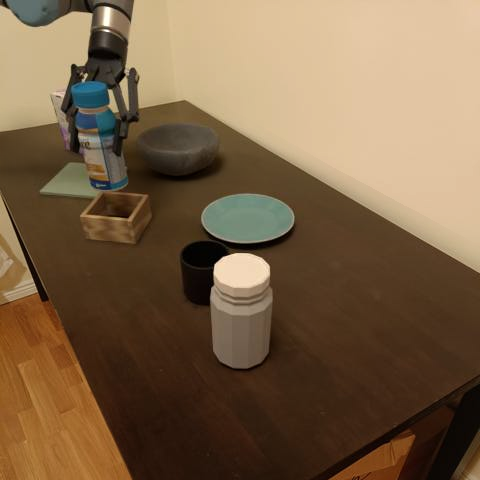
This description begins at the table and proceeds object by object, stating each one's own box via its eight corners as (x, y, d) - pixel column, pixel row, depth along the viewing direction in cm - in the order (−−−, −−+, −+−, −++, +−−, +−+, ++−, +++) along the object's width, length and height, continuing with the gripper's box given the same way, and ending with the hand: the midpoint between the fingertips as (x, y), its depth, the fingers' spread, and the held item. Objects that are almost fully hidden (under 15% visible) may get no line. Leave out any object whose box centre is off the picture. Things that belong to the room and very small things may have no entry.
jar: (223, 326, 79) (220, 244, 66) (274, 337, 77) (282, 255, 64) (205, 365, 72) (198, 283, 60) (260, 378, 70) (266, 296, 58)
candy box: (110, 152, 133) (98, 95, 121) (96, 159, 129) (82, 101, 118) (79, 143, 138) (64, 87, 127) (64, 149, 135) (48, 92, 123)
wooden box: (86, 239, 99) (79, 216, 95) (106, 212, 108) (100, 190, 103) (135, 244, 98) (131, 221, 94) (152, 216, 106) (148, 194, 102)
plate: (186, 241, 99) (185, 230, 97) (222, 196, 114) (221, 186, 112) (278, 261, 93) (279, 250, 91) (303, 212, 108) (304, 201, 106)
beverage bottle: (131, 191, 93) (113, 91, 79) (91, 196, 91) (65, 94, 77) (127, 173, 99) (109, 77, 85) (89, 178, 97) (65, 81, 83)
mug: (218, 264, 92) (216, 228, 86) (237, 299, 84) (237, 262, 78) (175, 274, 90) (170, 237, 84) (191, 310, 82) (187, 273, 76)
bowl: (208, 148, 135) (206, 115, 128) (229, 180, 120) (229, 144, 113) (135, 158, 130) (129, 124, 123) (147, 192, 115) (142, 156, 108)
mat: (40, 194, 114) (39, 191, 114) (70, 164, 127) (69, 162, 126) (104, 199, 112) (103, 197, 112) (128, 169, 125) (127, 166, 124)
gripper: (164, 55, 89) (151, 163, 89) (69, 50, 91) (56, 155, 91) (153, 31, 82) (139, 148, 82) (50, 25, 84) (35, 140, 84)
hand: (95, 152), depth 87 cm, fingers closed on beverage bottle, 8 cm apart
